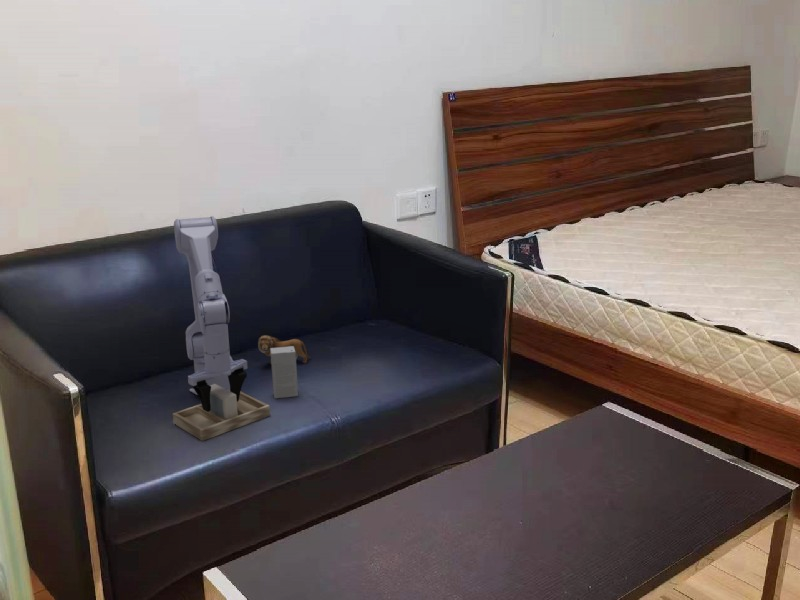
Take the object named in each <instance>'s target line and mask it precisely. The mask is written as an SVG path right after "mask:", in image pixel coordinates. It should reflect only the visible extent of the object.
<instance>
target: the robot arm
mask: <svg viewBox="0 0 800 600" xmlns="http://www.w3.org/2000/svg"><path fill="white" fill-rule="evenodd" d="M217 222H218V221H217V218H215V217H214V216H213V215H211V216H207V217H194V218H181V219H180V218H175V220H174V222H173V230H174V238H175V246H176V250H177V253H179V254H181V255H185V257H186V260H187V263H188V268H189V269H188V270H189V277H190V286H191V292H192V294H191V295H192V300H193V303H192V304H193V309H194V310H193V311H194V318H195V320H194V321H193V322H192V323H191V324H190V325H188V326H187V328H186V330H185V346H186V347H185V348H186V353H187V357H188V359H189V360H190V361H193V366H194V369H193V370H194V373H192V374H190V375H187V381H188V385H190V386H191V387H192V388H189V392H191V393H192V394H195V395H196V396H198V399H199V400H200V404H202V407H203V410H205V411H207V412H209V411H210V410H211V405H210V391H211V386H210V385H213V384H216V385H218V386H220V387H222V388H224V389H226V390H228V391H230V392H232V393H234V394H236V398H237V401H239V396H240V391H241V392H242V387H243V385H244V382H245V380H246V378H247V375H248V374H247V373H248V372H247V371H246V370H247V369H248V360H245V359H243V358H241V359H237V360H233V358H232V356H231V353H230V351H231V350H230V341H229V339H230V338H229V328H228V327H229V326H228V324H229V323H230V317H231V315H230V306H229V302H228V300H227V297H226V295H225V294H224V293H223V287H222V283H221V278H220V277H221V276H220V275H219V274H218V272H215V271H214V265H213V259H212V252H213V251H214V250H216V246H217V244H218V239H219V227H218V223H217Z"/></svg>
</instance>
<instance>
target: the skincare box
mask: <svg viewBox="0 0 800 600" xmlns="http://www.w3.org/2000/svg"><path fill="white" fill-rule="evenodd" d="M270 353H271V356H270V362H271V364H270V365H271V375H272V376H271V377H272V378H271V379H272V390H273V391H272V392H273V399H282V398H292V397H293V398H294V397H298V396H299V386H298V370H297V369H298V368H297V359H296V352H295V349H294V346H290V347H279V348H270Z"/></svg>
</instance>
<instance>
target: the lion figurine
mask: <svg viewBox="0 0 800 600" xmlns="http://www.w3.org/2000/svg"><path fill="white" fill-rule="evenodd" d="M257 345H258V346H257V347H258V350H259V351H260V353H262V354H265V356H266V357H271V353H270V348H279V347H290V346H294V349H295V352H296V360H297V359H298V358H299V357H301V358H303V360H302V363H303V364H306V363H307V362H308V359H312V357H311V355H309V354H308V353H307V349H306V348H307V347H306V345H305V344H304V342H303V341H301V340H300V339H297V338H293V339H290V340H284V341H283V340H280V339H278V338H277V337H273V336H272V335H261V336H260V337H259V338H258V341H257ZM269 365H271V361H270V362H269Z"/></svg>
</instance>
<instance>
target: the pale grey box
mask: <svg viewBox="0 0 800 600" xmlns="http://www.w3.org/2000/svg"><path fill="white" fill-rule="evenodd" d="M210 386H211V391H210V405H211V410H210V412H211V413H213V414H215V415H217V416H219V417H221V418H222V419H224V420H227V419H230V418H233V417H236V416H238V412H237V398H236V394H234V393H232V392H230V391H228V390H226V389H224V388H222V387H220V386H218V385H216V384H213V385H210Z"/></svg>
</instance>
